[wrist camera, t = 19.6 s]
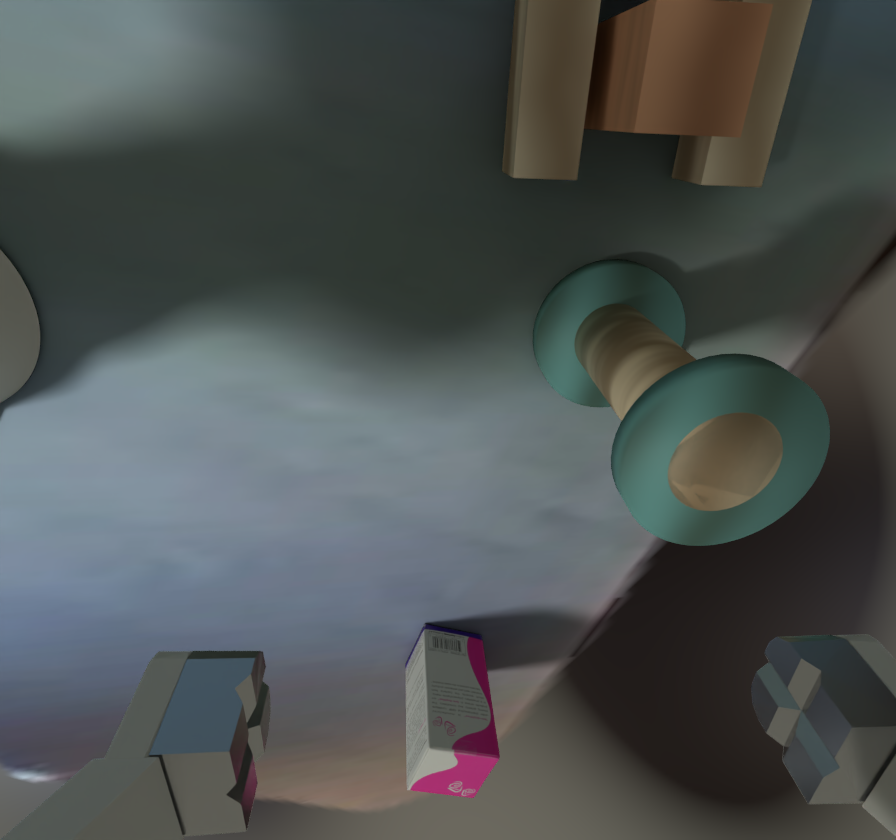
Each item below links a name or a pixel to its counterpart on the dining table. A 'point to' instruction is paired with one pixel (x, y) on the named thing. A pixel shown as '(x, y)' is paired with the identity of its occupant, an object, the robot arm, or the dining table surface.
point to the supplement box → (448, 714)
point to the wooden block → (677, 67)
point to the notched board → (567, 86)
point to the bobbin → (680, 408)
